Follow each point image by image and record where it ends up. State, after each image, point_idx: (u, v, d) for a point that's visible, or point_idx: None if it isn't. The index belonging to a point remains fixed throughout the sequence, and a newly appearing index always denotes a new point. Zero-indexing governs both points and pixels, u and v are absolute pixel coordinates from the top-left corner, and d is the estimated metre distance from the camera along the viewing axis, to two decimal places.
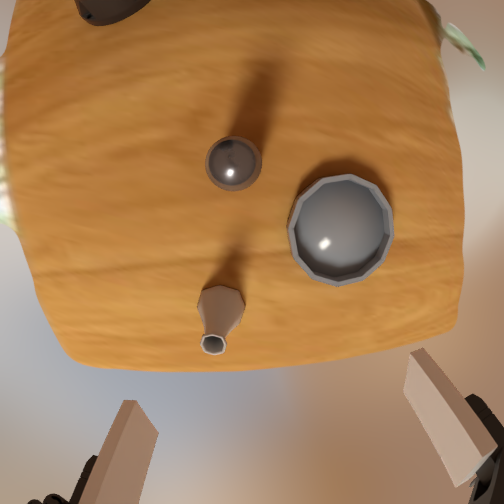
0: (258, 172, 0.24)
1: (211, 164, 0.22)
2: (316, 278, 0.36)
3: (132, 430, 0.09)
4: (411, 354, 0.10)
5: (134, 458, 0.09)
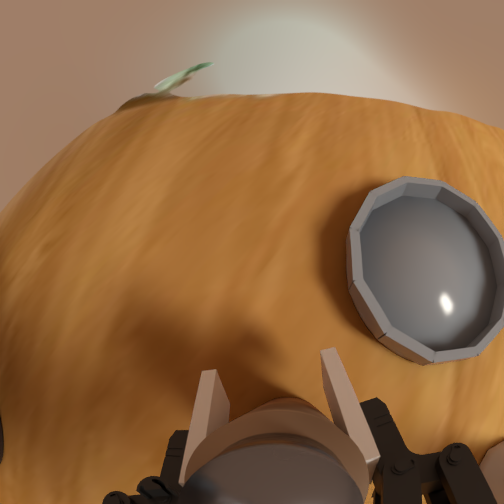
0: (334, 432, 0.06)
1: None
2: None
3: (216, 398, 0.11)
4: (321, 352, 0.12)
5: (219, 427, 0.10)
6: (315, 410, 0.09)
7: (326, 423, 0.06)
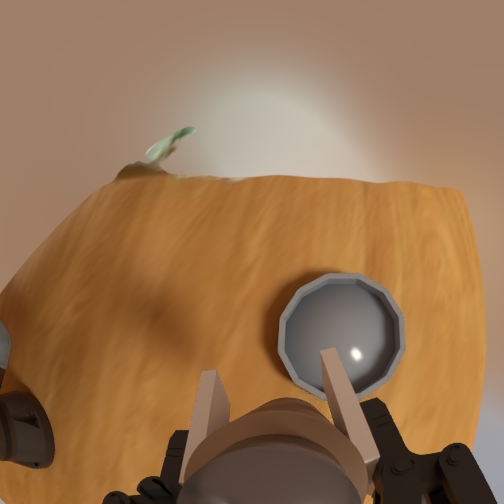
0: (333, 433, 0.06)
1: None
2: (390, 374, 0.25)
3: (216, 398, 0.11)
4: (321, 352, 0.12)
5: (220, 427, 0.10)
6: (314, 411, 0.09)
7: (325, 424, 0.06)
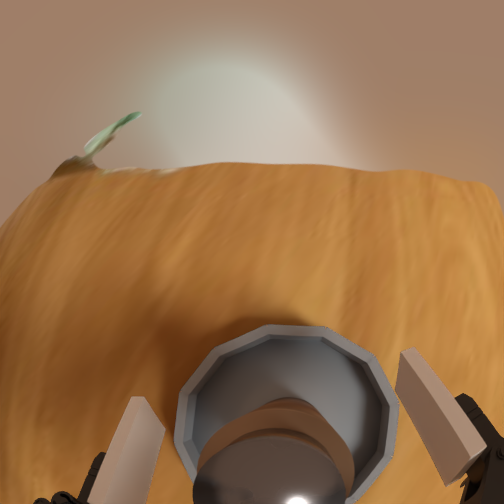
0: (323, 428, 0.07)
1: None
2: (359, 494, 0.11)
3: (140, 426, 0.10)
4: (402, 353, 0.10)
5: (142, 454, 0.09)
6: (311, 409, 0.11)
7: (317, 420, 0.07)
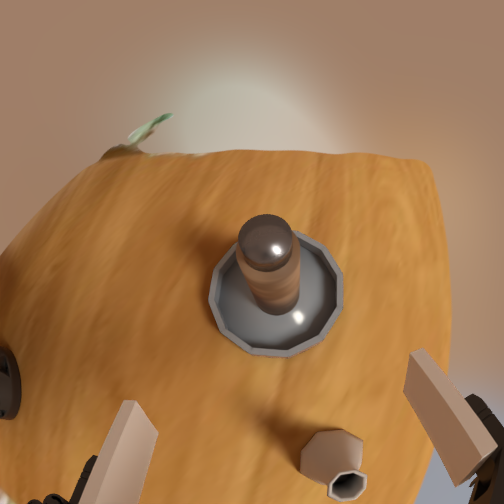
0: None
1: (259, 257, 0.20)
2: (324, 333, 0.27)
3: (132, 430, 0.09)
4: (411, 354, 0.10)
5: (134, 458, 0.09)
6: None
7: None
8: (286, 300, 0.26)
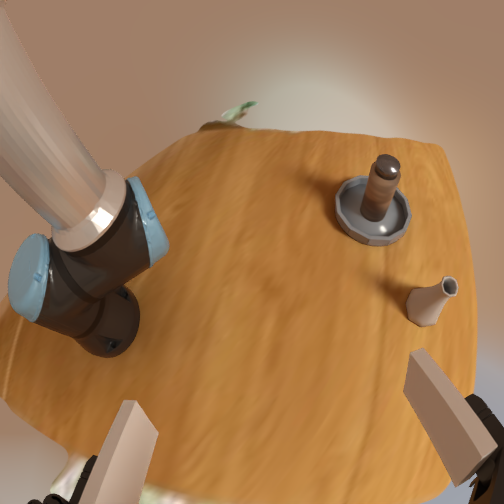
0: None
1: (389, 170, 0.36)
2: (405, 228, 0.44)
3: (132, 430, 0.09)
4: (411, 354, 0.10)
5: (134, 458, 0.09)
6: None
7: None
8: (387, 206, 0.43)
